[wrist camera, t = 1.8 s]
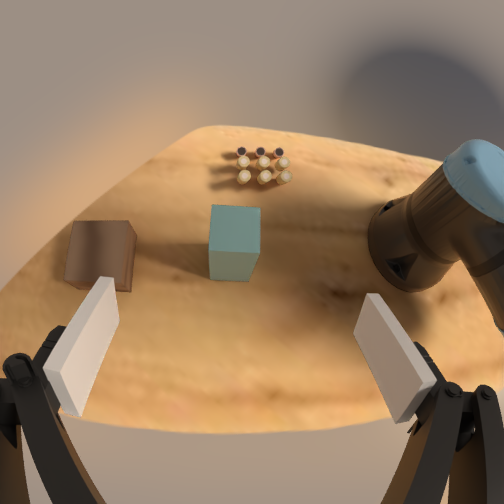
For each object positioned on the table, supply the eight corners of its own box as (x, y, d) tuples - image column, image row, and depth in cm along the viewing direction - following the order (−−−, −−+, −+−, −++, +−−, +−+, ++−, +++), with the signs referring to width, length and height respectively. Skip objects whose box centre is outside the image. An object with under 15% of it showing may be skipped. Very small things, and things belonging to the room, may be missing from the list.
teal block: (249, 245, 42) (260, 207, 32) (248, 281, 40) (260, 253, 30) (212, 243, 42) (211, 204, 31) (210, 279, 40) (208, 250, 30)
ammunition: (293, 179, 41) (286, 135, 44) (239, 178, 40) (236, 134, 43) (286, 196, 46) (280, 154, 48) (236, 196, 45) (234, 153, 47)
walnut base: (137, 236, 41) (128, 220, 36) (131, 292, 38) (121, 283, 34) (86, 235, 40) (73, 220, 35) (79, 289, 37) (63, 280, 33)
